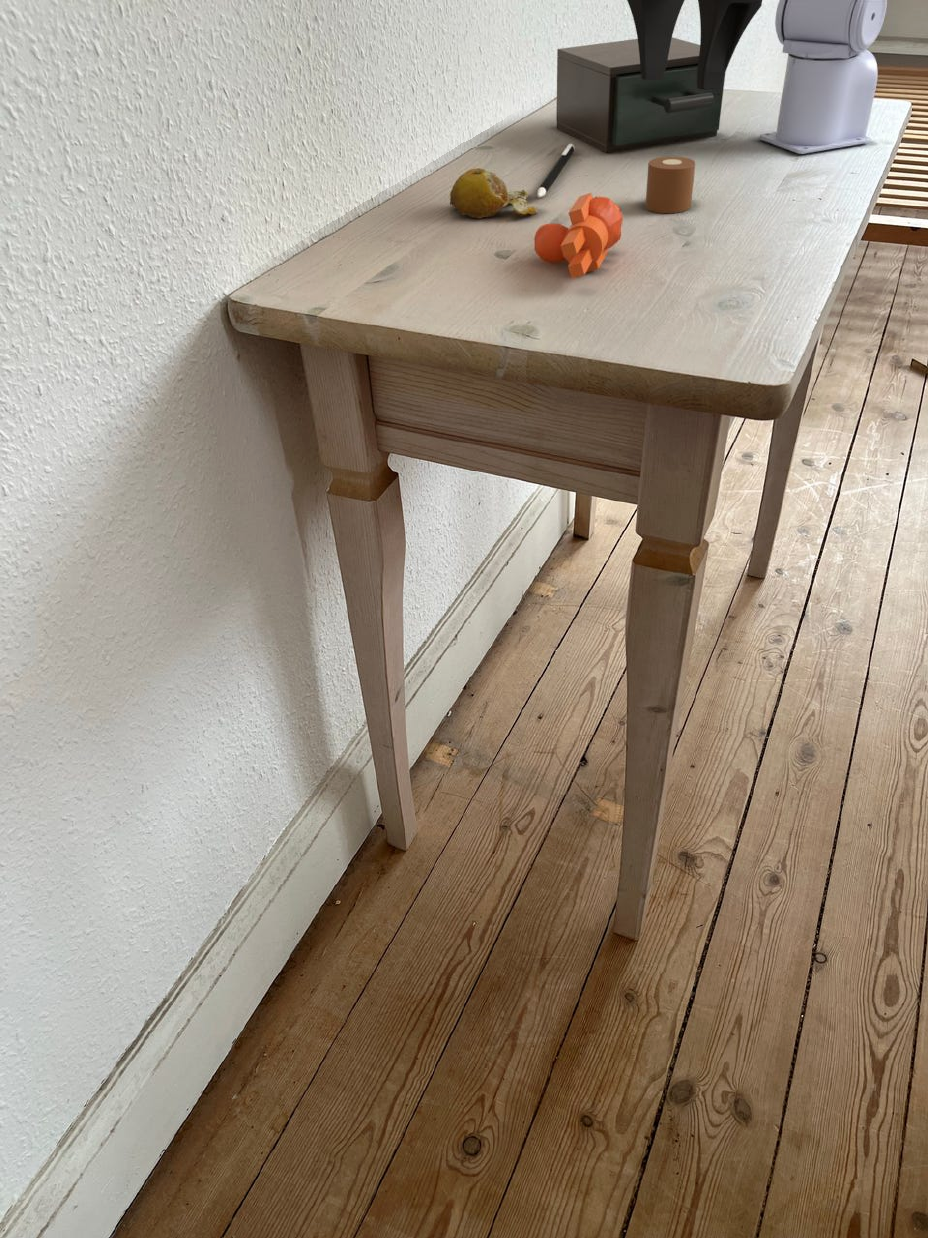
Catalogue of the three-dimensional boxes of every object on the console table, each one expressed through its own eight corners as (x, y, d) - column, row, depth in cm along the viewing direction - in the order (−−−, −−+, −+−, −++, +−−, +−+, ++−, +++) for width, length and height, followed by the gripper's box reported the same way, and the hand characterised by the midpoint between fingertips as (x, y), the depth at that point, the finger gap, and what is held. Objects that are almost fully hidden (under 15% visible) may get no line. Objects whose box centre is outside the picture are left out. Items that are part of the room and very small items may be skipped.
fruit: (540, 218, 91) (540, 178, 88) (456, 226, 90) (453, 186, 88) (524, 193, 97) (524, 155, 95) (445, 201, 96) (443, 162, 94)
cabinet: (716, 135, 111) (726, 51, 105) (606, 153, 107) (610, 67, 102) (659, 112, 121) (665, 34, 115) (556, 128, 117) (557, 48, 112)
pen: (576, 150, 108) (576, 139, 108) (542, 201, 94) (542, 189, 94) (569, 150, 108) (569, 139, 108) (534, 201, 95) (534, 189, 94)
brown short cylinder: (676, 196, 94) (680, 152, 91) (699, 208, 91) (704, 163, 88) (637, 203, 93) (640, 159, 90) (659, 215, 90) (663, 170, 87)
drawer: (739, 138, 106) (748, 69, 102) (634, 154, 103) (639, 85, 99) (664, 108, 118) (669, 46, 114) (568, 123, 115) (569, 59, 111)
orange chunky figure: (595, 218, 72) (622, 174, 81) (507, 245, 76) (542, 200, 84) (612, 281, 75) (637, 232, 84) (527, 304, 78) (558, 254, 87)
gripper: (614, -107, 80) (595, 75, 88) (734, -112, 70) (700, 94, 78) (676, -102, 83) (653, 74, 91) (799, -106, 73) (761, 92, 81)
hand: (679, 83), depth 85 cm, fingers open, 7 cm apart
